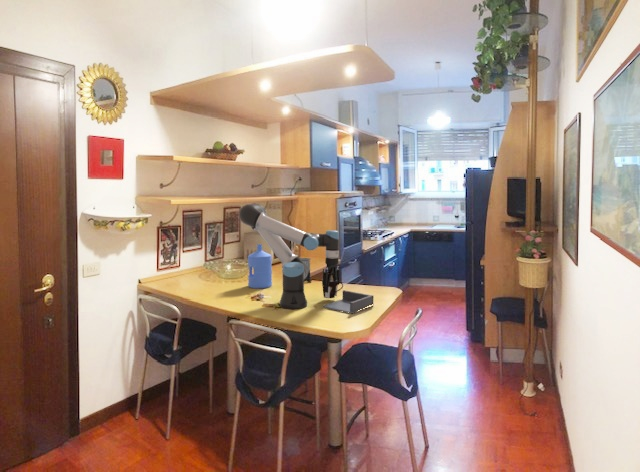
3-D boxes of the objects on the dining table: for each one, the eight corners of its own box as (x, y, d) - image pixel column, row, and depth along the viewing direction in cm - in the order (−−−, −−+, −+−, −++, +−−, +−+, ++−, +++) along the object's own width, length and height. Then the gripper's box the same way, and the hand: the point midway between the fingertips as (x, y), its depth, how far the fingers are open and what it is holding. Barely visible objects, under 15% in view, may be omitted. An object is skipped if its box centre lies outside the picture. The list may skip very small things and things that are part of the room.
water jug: (274, 283, 291) (273, 243, 288) (269, 289, 276) (268, 246, 273) (251, 283, 293) (251, 243, 290) (245, 288, 277) (244, 246, 274)
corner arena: (352, 314, 220) (352, 302, 219) (322, 307, 233) (322, 296, 232) (373, 306, 235) (373, 295, 235) (344, 300, 248) (344, 290, 247)
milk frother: (304, 277, 314) (303, 257, 313) (320, 280, 304) (320, 259, 303) (290, 280, 304) (290, 259, 302) (307, 283, 294) (307, 262, 292)
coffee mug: (319, 297, 246) (319, 280, 245) (325, 294, 254) (326, 277, 253) (337, 300, 241) (337, 282, 240) (343, 296, 248) (344, 280, 247)
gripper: (326, 260, 235) (325, 300, 237) (347, 256, 250) (346, 294, 252) (316, 258, 240) (315, 298, 242) (337, 254, 254) (336, 292, 257)
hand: (331, 296), depth 247 cm, fingers closed on coffee mug, 6 cm apart
